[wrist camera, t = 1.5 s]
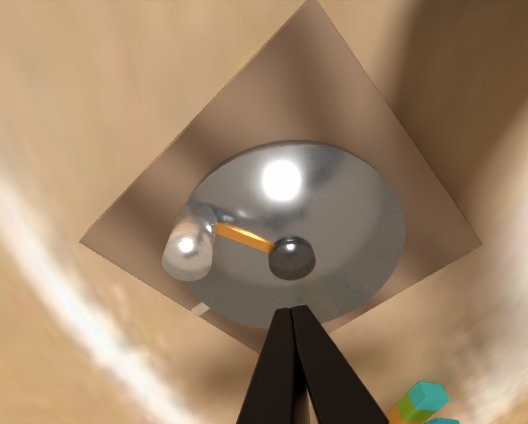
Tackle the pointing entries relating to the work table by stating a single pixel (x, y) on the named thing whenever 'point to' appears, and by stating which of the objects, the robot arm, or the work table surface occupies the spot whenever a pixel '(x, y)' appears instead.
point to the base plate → (279, 129)
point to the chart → (420, 405)
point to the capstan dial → (287, 233)
